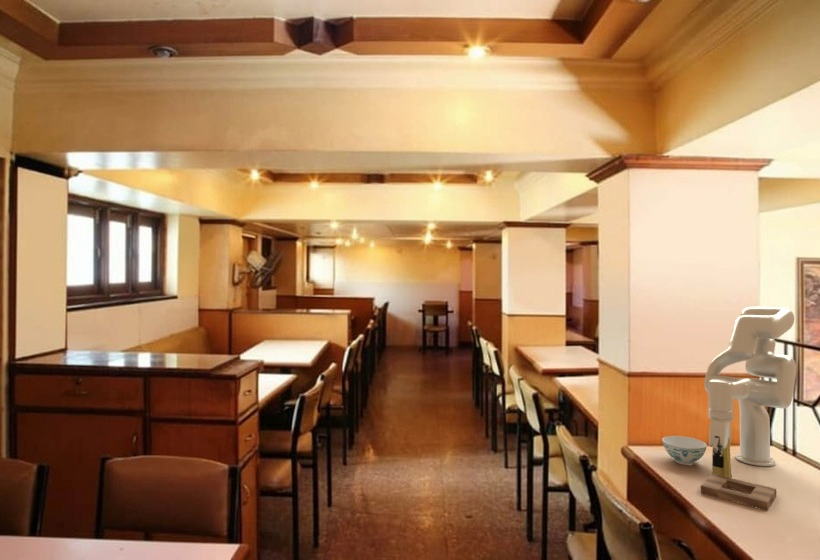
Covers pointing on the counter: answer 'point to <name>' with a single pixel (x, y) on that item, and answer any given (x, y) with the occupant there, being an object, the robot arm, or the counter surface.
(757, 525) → the counter surface
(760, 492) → the vase stand
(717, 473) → the vase
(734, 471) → the counter surface
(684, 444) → the chinaware
